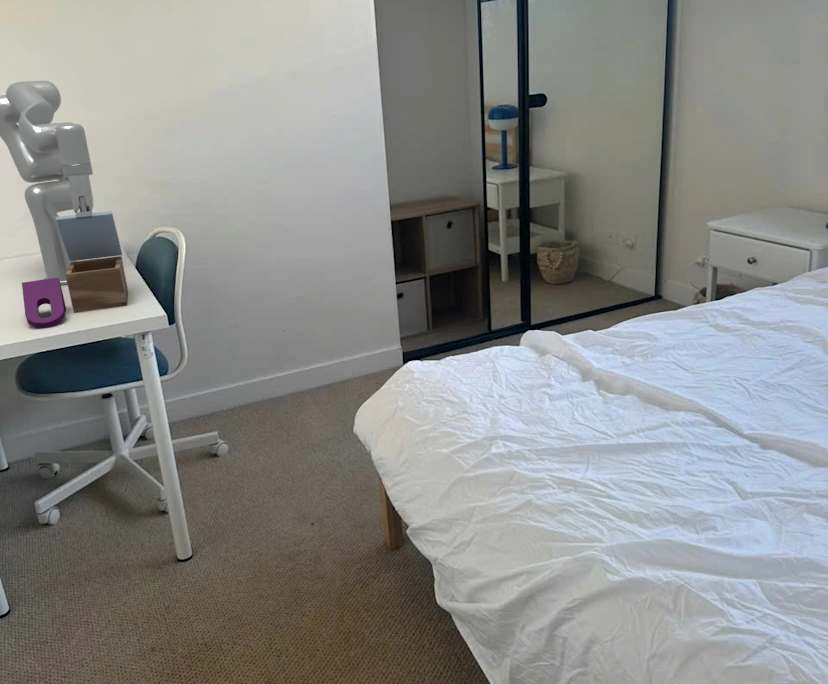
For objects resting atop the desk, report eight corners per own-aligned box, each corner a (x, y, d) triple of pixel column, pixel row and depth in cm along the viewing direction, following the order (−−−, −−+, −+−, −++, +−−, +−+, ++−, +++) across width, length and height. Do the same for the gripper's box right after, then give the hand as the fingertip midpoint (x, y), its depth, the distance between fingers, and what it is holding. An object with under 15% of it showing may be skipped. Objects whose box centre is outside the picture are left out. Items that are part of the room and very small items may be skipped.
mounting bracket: (71, 342, 202) (64, 299, 213) (65, 319, 196) (59, 277, 208) (33, 348, 199) (28, 305, 210) (26, 325, 193) (21, 282, 204)
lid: (69, 263, 217) (69, 258, 218) (122, 257, 221) (122, 252, 222) (55, 219, 203) (55, 214, 205) (111, 213, 208) (111, 209, 209)
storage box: (78, 297, 221) (71, 262, 217) (128, 291, 225) (121, 256, 221) (73, 312, 207) (65, 274, 203) (126, 305, 211) (119, 268, 207)
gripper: (65, 168, 213) (78, 231, 220) (60, 174, 200) (74, 241, 207) (93, 166, 216) (105, 228, 222) (90, 172, 202) (103, 238, 209)
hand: (90, 234), depth 214 cm, fingers closed
